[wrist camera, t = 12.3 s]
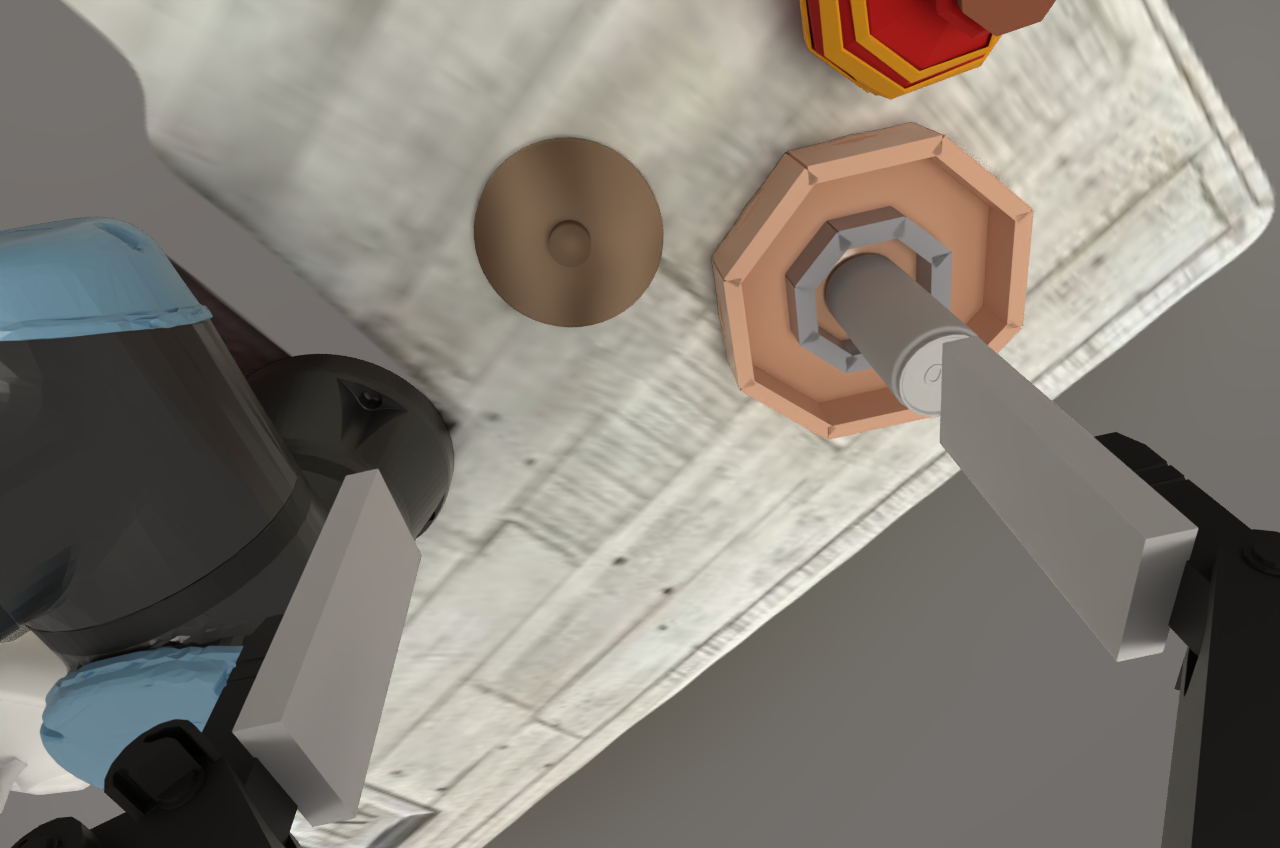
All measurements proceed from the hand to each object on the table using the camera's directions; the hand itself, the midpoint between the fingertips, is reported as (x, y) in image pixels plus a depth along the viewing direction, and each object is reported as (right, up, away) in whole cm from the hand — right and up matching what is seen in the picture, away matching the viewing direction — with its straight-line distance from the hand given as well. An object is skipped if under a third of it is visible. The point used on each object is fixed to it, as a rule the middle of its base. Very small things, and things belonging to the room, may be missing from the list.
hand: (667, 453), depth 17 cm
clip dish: (+13, +10, +29) cm, 33 cm away
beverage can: (+13, +9, +29) cm, 33 cm away
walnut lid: (-5, +12, +26) cm, 29 cm away
